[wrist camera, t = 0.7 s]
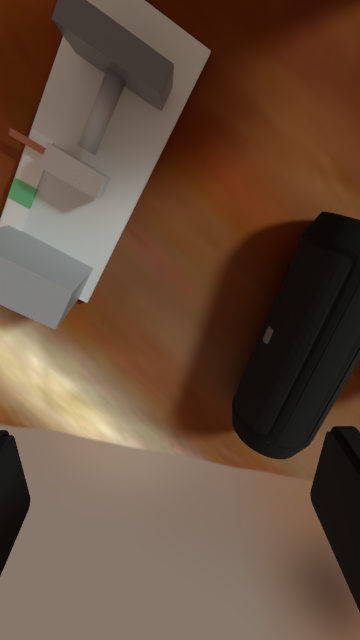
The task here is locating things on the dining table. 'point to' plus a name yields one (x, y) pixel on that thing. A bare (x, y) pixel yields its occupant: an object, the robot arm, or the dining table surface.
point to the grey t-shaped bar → (112, 63)
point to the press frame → (111, 159)
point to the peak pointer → (67, 167)
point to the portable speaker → (304, 343)
